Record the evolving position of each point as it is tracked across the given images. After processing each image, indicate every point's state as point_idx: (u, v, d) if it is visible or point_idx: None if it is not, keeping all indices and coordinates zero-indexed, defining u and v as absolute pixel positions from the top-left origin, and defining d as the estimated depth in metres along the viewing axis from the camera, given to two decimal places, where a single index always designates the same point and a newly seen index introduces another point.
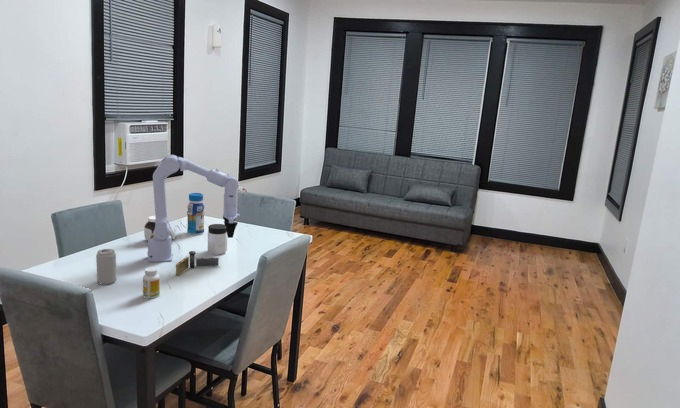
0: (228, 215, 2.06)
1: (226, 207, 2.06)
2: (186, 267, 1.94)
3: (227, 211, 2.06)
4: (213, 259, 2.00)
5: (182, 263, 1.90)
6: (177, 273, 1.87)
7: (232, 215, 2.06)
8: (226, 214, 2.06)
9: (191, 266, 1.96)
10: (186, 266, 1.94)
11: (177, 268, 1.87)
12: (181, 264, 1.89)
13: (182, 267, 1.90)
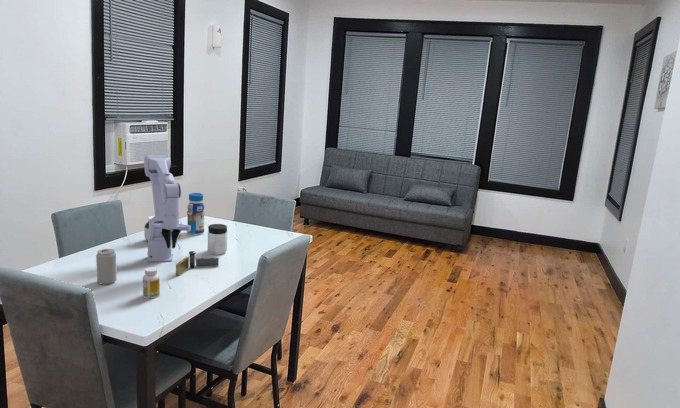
0: None
1: None
2: (186, 267, 1.94)
3: None
4: (213, 259, 2.00)
5: (182, 263, 1.90)
6: (177, 273, 1.87)
7: (163, 224, 1.87)
8: None
9: (191, 266, 1.96)
10: (186, 266, 1.94)
11: (177, 268, 1.87)
12: (181, 264, 1.89)
13: (182, 267, 1.90)
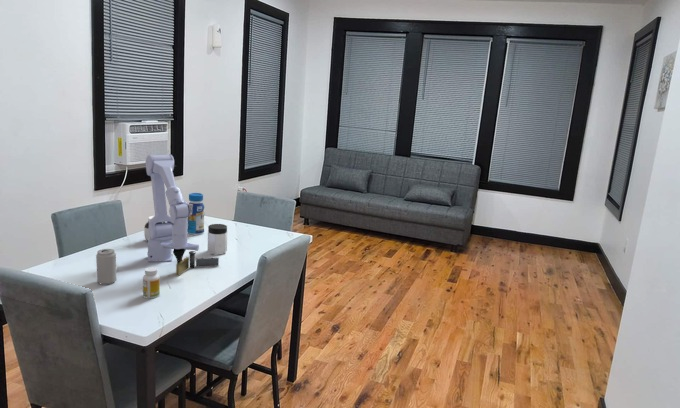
0: None
1: None
2: (186, 267, 1.94)
3: None
4: (213, 259, 2.00)
5: (182, 263, 1.90)
6: (177, 273, 1.87)
7: (171, 243, 1.89)
8: None
9: (191, 266, 1.96)
10: (187, 266, 1.94)
11: (177, 268, 1.87)
12: (182, 265, 1.89)
13: (182, 267, 1.90)
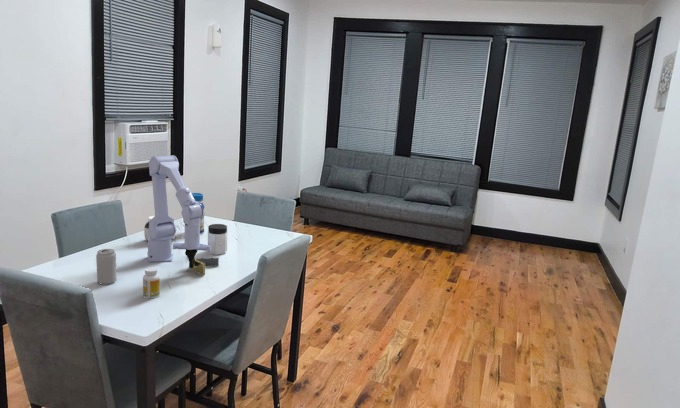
0: None
1: None
2: None
3: None
4: (213, 259, 2.00)
5: None
6: (204, 272, 1.90)
7: (184, 244, 1.89)
8: None
9: None
10: None
11: (204, 268, 1.89)
12: None
13: None
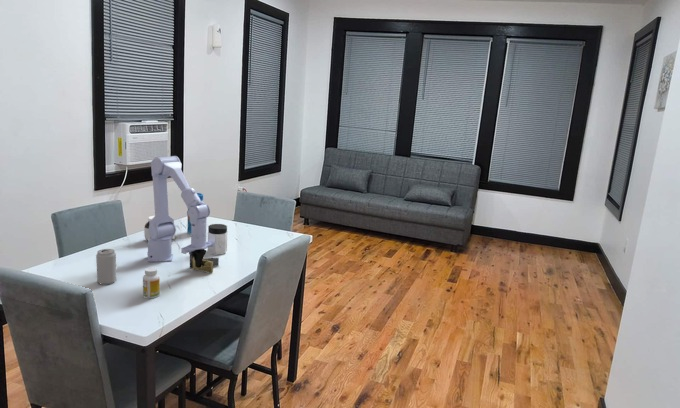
0: (191, 245, 1.89)
1: (191, 236, 1.89)
2: None
3: (191, 240, 1.89)
4: (213, 259, 2.00)
5: None
6: (212, 270, 1.93)
7: (193, 246, 1.88)
8: (191, 243, 1.90)
9: (191, 266, 1.96)
10: None
11: (212, 265, 1.92)
12: None
13: None
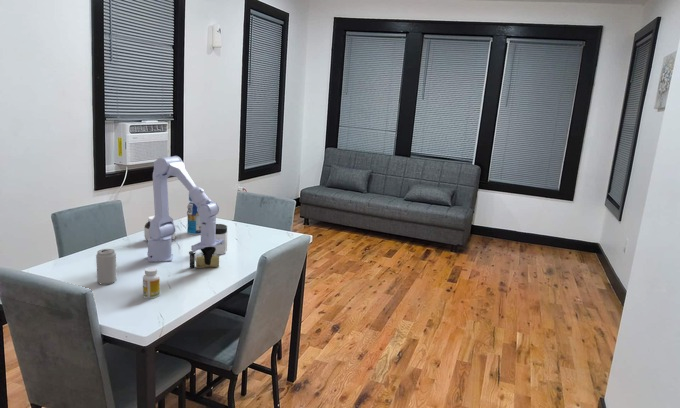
0: (201, 242, 1.92)
1: None
2: None
3: None
4: None
5: None
6: None
7: (203, 243, 1.91)
8: None
9: (191, 266, 1.96)
10: None
11: None
12: None
13: None
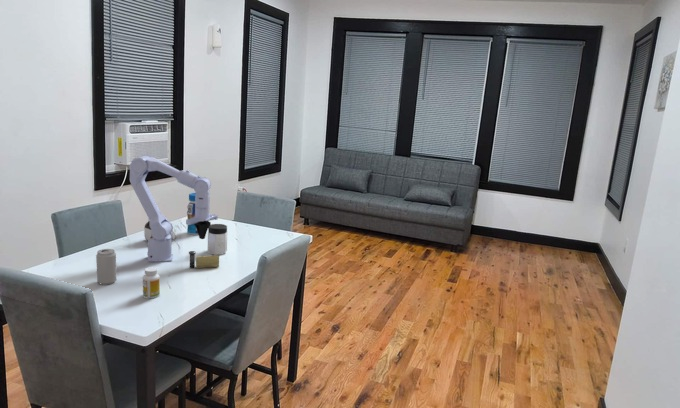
0: (195, 217, 2.00)
1: (195, 208, 2.00)
2: None
3: (195, 213, 2.00)
4: None
5: None
6: None
7: (197, 218, 1.99)
8: (195, 215, 2.01)
9: (191, 266, 1.96)
10: None
11: None
12: None
13: None
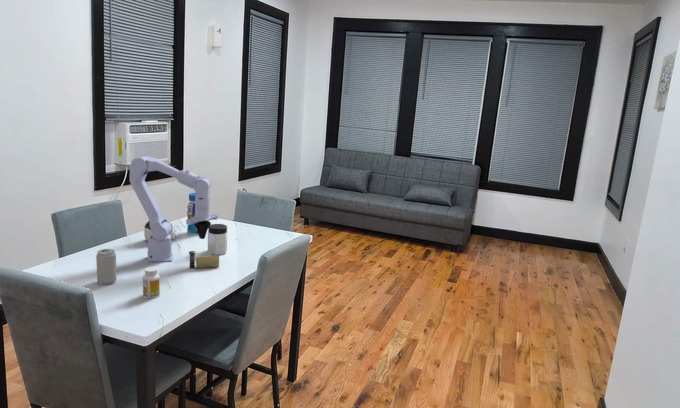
0: (195, 217, 2.00)
1: (195, 208, 2.00)
2: None
3: (195, 212, 2.00)
4: None
5: None
6: None
7: (197, 218, 1.99)
8: (195, 215, 2.01)
9: (191, 266, 1.96)
10: None
11: None
12: None
13: None
